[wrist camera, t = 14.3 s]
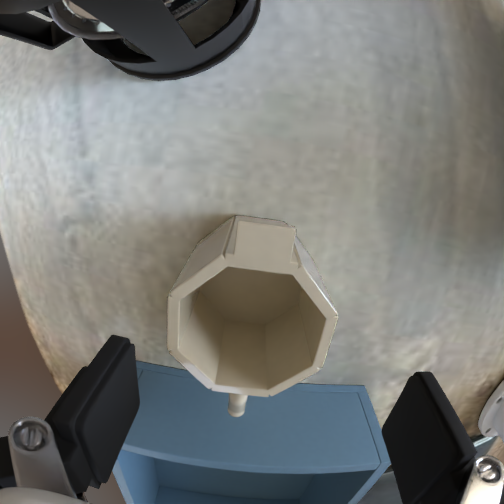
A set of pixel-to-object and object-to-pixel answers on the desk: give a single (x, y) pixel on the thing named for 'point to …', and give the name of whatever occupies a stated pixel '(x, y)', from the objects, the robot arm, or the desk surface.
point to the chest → (248, 444)
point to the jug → (250, 311)
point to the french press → (130, 32)
